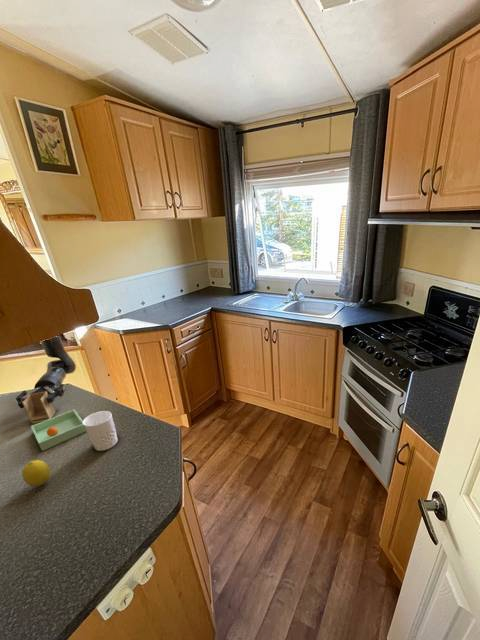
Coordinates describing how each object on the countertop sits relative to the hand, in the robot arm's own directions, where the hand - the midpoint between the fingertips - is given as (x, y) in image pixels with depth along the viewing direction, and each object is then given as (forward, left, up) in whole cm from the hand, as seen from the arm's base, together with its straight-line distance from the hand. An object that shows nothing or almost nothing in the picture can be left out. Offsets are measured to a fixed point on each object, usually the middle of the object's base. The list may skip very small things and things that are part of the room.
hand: (34, 403), depth 104 cm
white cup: (+11, -33, -7) cm, 35 cm away
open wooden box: (+1, +1, -7) cm, 7 cm away
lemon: (-7, -37, -8) cm, 38 cm away
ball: (+1, -15, -5) cm, 16 cm away
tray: (+3, -14, -7) cm, 16 cm away
